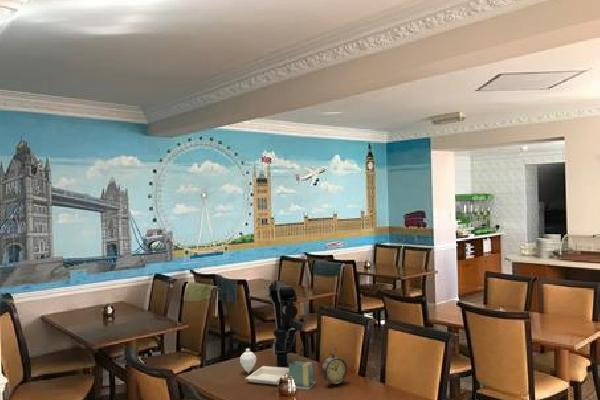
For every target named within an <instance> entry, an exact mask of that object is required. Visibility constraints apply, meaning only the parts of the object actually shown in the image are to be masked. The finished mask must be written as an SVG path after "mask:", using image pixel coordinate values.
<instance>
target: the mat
mask: <svg viewBox="0 0 600 400" xmlns="http://www.w3.org/2000/svg"><path fill="white" fill-rule="evenodd" d="M316 384H317V381H316V380H315V381H314V380H313V384H312V385H311V386H310V387H303V386H296V388H295V389H299V390H301V389H302V390H303V391H307V392H308V391H309V390H311V389H312V387H314V385H316Z"/></svg>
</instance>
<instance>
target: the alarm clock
mask: <svg viewBox="0 0 600 400" xmlns="http://www.w3.org/2000/svg"><path fill="white" fill-rule="evenodd" d="M332 349H334V350H335V352H334V353H331V351H332ZM336 353H337V349H336V347H335V346H333V347H331V348H330V349H329V354H330V355H331V356H329V357H327V358H326V359H325V360H324V362H323V364H322V367H321V375H322V377H323V379H324V380H325V381H326V382H328V383H327V386H326V388H329V386H330V384H333V385H338V384H341V383H343V384H345V383H346V382H345V381H344V380H345V379H346V377H347V375H348V366H347V363H346V362H345V360H344V359H342V358H340V357H338V356H335V354H336Z"/></svg>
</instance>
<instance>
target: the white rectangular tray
mask: <svg viewBox="0 0 600 400" xmlns="http://www.w3.org/2000/svg"><path fill="white" fill-rule="evenodd" d="M286 374H288V375H289V367H281V366H268V365H262V366H261V367H259V368H258V369H257V370H255V371H254V372H252V373H250V375H248V376H247V377H245V380H248V382H250V383H258V384H269V385H276V386H277V385H278V386H280V385H279V381H280V378H281V377H282V376H283V375H286Z"/></svg>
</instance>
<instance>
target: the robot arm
mask: <svg viewBox="0 0 600 400" xmlns="http://www.w3.org/2000/svg"><path fill="white" fill-rule="evenodd" d="M267 290H268V291H267V292H268V293H267V294H268V298H269V301H270V302H271V304H272V305H273V311H274V320H275V330H273V336H274V340H273V345H272V352H273V354H274V355H276V364H274V365H273V367H281V368H287V367H289V364H290V363H291V362H289V354H292V352H293V351H292V349H293V345H294V344H295V343H294V342H295V337H296V333H297V332H302V331H304V330H305V326H306V325H307V324H306V323H307V322H306V319H305V318H304V317H301V318H298V319H297V318H296V316H297V315H298V312H299V311H298V308H297V307H296V306H295V304H294V303H297V300H298V296H297V292H296V290H295V288H294V287H293V286H292V285H287V284H286V283H285V282H284V280H283V279H276V280H272V283H271V284H270V285H269V286H268V289H267Z"/></svg>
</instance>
